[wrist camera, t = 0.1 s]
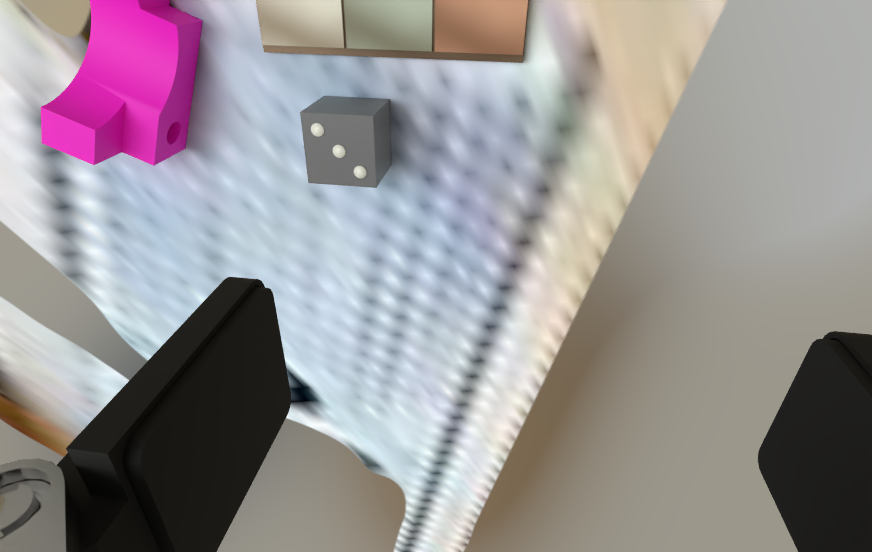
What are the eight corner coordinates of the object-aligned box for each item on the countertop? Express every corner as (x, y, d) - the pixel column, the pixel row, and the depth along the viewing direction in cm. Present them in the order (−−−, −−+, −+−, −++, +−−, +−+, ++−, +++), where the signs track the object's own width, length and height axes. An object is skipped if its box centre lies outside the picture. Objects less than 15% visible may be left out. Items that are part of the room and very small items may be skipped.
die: (324, 95, 39) (299, 112, 35) (389, 99, 38) (372, 116, 34) (330, 160, 42) (308, 183, 37) (391, 164, 41) (376, 188, 37)
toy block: (186, 147, 43) (128, 179, 37) (113, 116, 42) (41, 143, 36) (213, -50, 35) (145, -54, 29) (124, -92, 35) (35, -104, 28)
